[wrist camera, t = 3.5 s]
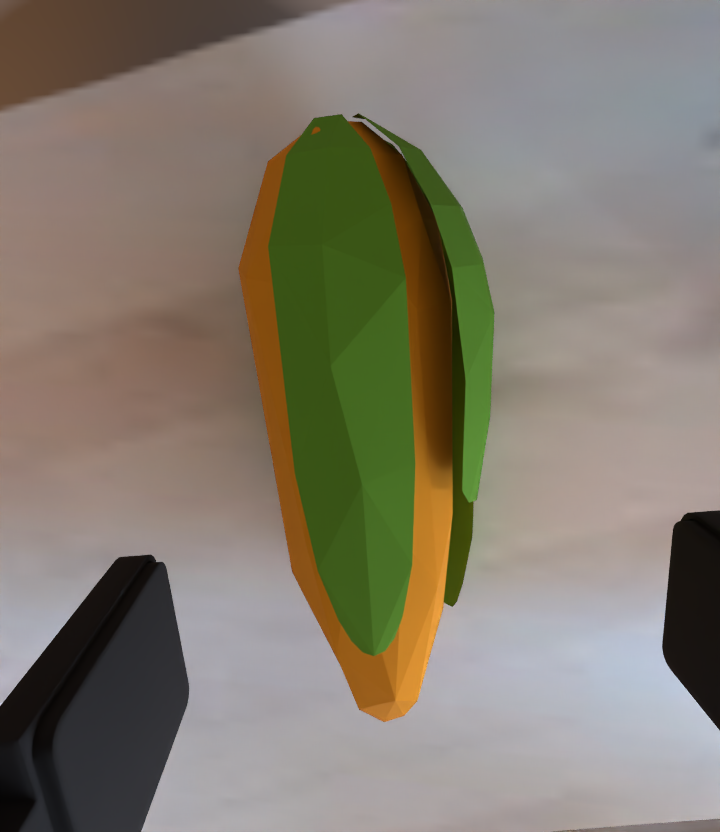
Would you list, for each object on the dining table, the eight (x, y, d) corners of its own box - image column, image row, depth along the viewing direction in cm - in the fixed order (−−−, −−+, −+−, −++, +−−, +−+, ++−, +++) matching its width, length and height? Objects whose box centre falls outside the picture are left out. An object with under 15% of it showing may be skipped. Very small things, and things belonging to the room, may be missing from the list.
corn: (524, 42, 10) (531, 822, 16) (463, 135, 18) (482, 645, 23) (152, 86, 11) (282, 831, 16) (243, 159, 18) (312, 654, 23)
